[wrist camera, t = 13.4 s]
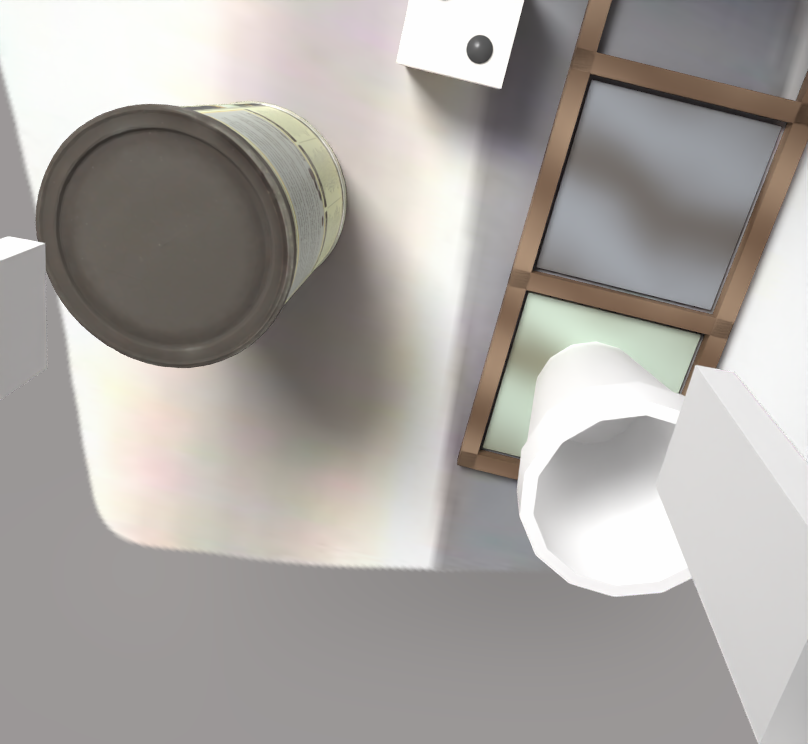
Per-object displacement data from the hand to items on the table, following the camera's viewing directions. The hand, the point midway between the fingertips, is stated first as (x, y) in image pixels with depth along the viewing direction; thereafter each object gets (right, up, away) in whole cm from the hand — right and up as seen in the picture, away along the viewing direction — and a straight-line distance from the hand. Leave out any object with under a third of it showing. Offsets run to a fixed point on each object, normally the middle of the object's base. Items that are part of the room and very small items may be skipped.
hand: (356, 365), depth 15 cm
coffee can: (-7, +10, +28) cm, 30 cm away
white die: (+4, +17, +24) cm, 30 cm away
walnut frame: (+14, +9, +26) cm, 31 cm away
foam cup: (+12, -1, +30) cm, 32 cm away
